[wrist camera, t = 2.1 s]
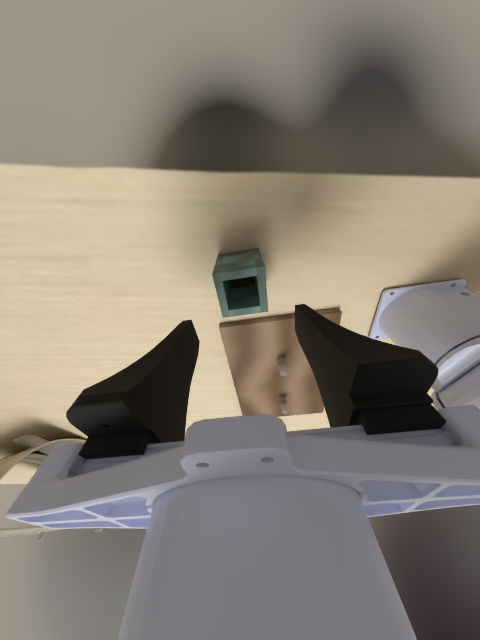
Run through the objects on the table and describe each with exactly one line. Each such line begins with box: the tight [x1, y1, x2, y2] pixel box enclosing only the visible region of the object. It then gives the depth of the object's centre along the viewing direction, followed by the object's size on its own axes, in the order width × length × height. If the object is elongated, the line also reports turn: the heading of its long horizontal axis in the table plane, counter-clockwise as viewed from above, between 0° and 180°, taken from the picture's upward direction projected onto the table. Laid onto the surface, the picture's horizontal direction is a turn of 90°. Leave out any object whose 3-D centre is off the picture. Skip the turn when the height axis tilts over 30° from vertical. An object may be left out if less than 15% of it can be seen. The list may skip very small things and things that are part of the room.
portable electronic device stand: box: [0, 434, 102, 541], centre depth 42 cm, size 26×24×16 cm
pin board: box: [219, 308, 342, 417], centre depth 30 cm, size 16×24×4 cm, turn 9°
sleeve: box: [212, 248, 268, 318], centre depth 19 cm, size 4×4×6 cm
